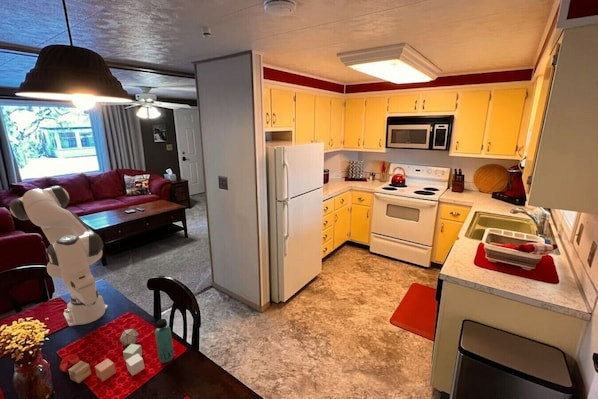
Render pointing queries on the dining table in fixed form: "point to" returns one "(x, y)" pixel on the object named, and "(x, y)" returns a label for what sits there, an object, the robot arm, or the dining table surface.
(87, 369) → the block oak
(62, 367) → the cap
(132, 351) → the block sage
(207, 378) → the dining table surface
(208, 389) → the dining table surface
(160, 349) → the beverage bottle
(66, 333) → the dining table surface
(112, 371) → the block terracotta
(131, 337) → the game die
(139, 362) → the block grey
